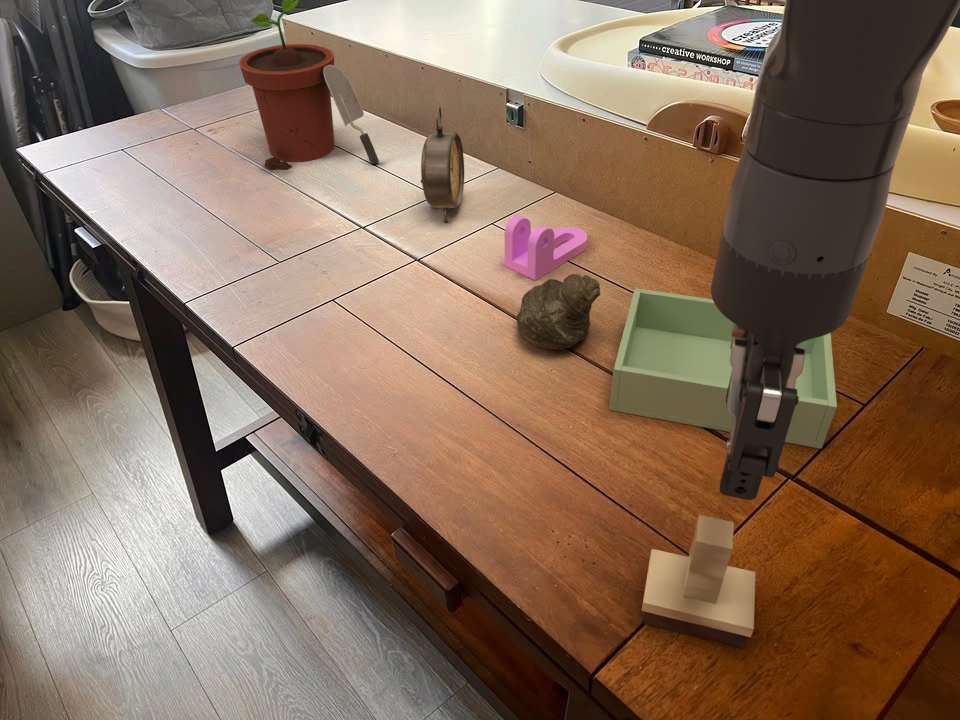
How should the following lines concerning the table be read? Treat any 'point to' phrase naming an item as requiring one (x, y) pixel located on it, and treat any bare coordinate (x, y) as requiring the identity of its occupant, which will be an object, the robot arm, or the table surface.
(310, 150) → the potted plant
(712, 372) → the bin
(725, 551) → the base with upright post
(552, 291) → the seashell
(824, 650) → the table surface
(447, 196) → the alarm clock
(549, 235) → the bracket
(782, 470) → the table surface
